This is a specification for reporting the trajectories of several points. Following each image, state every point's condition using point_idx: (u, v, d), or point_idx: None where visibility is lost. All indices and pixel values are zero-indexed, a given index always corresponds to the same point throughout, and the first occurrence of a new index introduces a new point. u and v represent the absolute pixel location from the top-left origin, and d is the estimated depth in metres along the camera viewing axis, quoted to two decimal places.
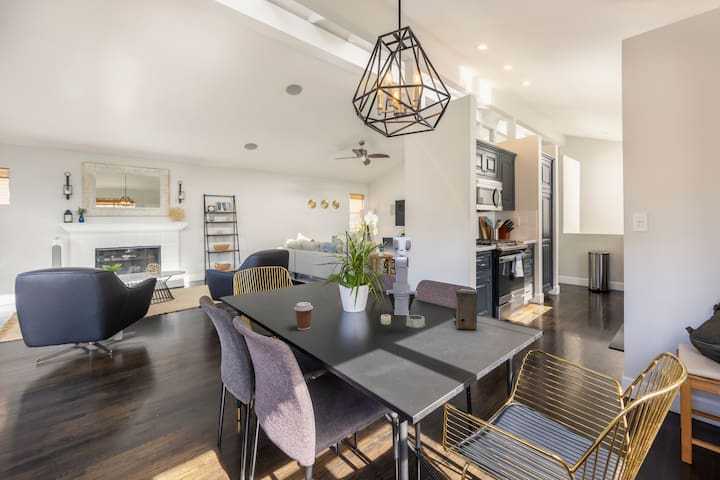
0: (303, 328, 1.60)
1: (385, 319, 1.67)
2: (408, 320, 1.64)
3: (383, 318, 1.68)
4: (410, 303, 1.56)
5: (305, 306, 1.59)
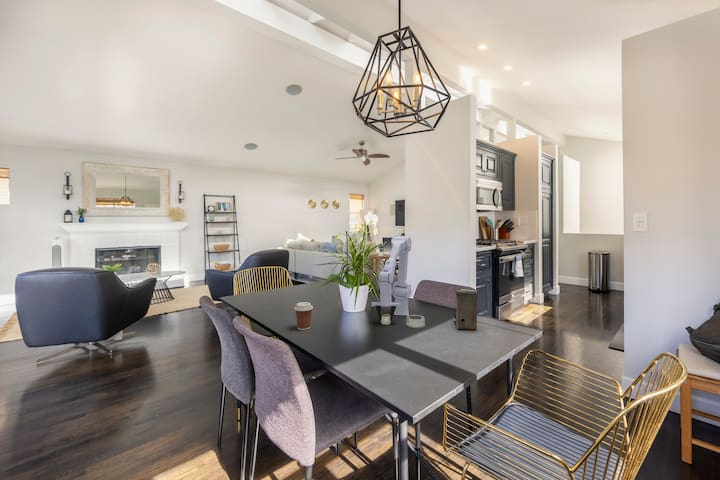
0: (303, 328, 1.60)
1: (385, 319, 1.67)
2: (408, 320, 1.64)
3: (383, 318, 1.68)
4: (391, 314, 1.68)
5: (305, 306, 1.59)
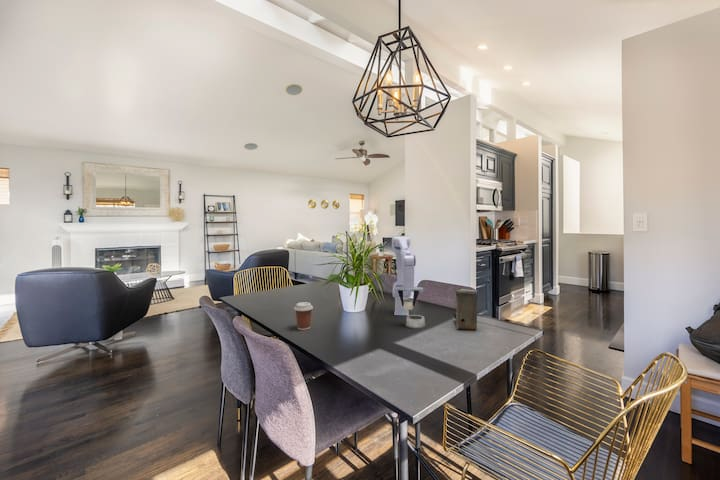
0: (303, 328, 1.60)
1: (408, 304, 1.64)
2: (408, 320, 1.64)
3: (406, 303, 1.64)
4: (414, 299, 1.64)
5: (305, 306, 1.59)
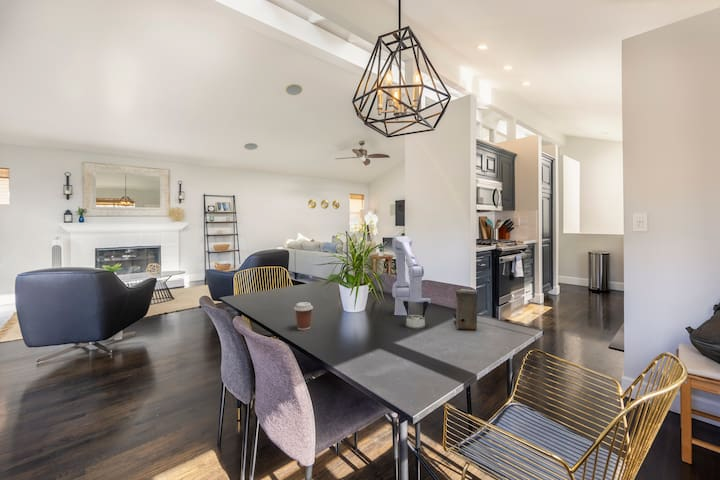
0: (303, 328, 1.60)
1: None
2: (408, 320, 1.64)
3: None
4: (424, 310, 1.63)
5: (305, 306, 1.59)
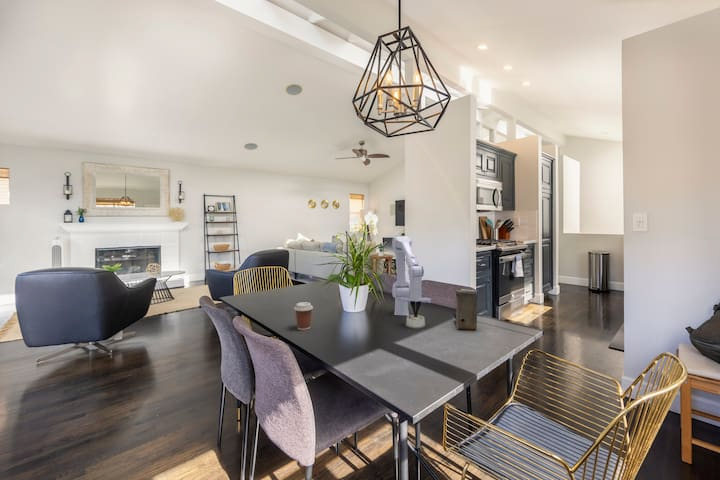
0: (303, 328, 1.60)
1: None
2: (408, 320, 1.64)
3: None
4: (417, 310, 1.64)
5: (305, 306, 1.59)
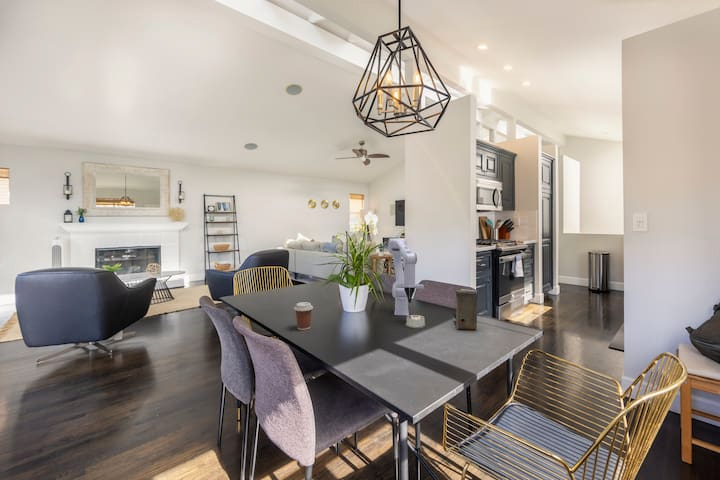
0: (303, 328, 1.60)
1: None
2: (408, 320, 1.64)
3: None
4: (411, 296, 1.70)
5: (305, 306, 1.59)
